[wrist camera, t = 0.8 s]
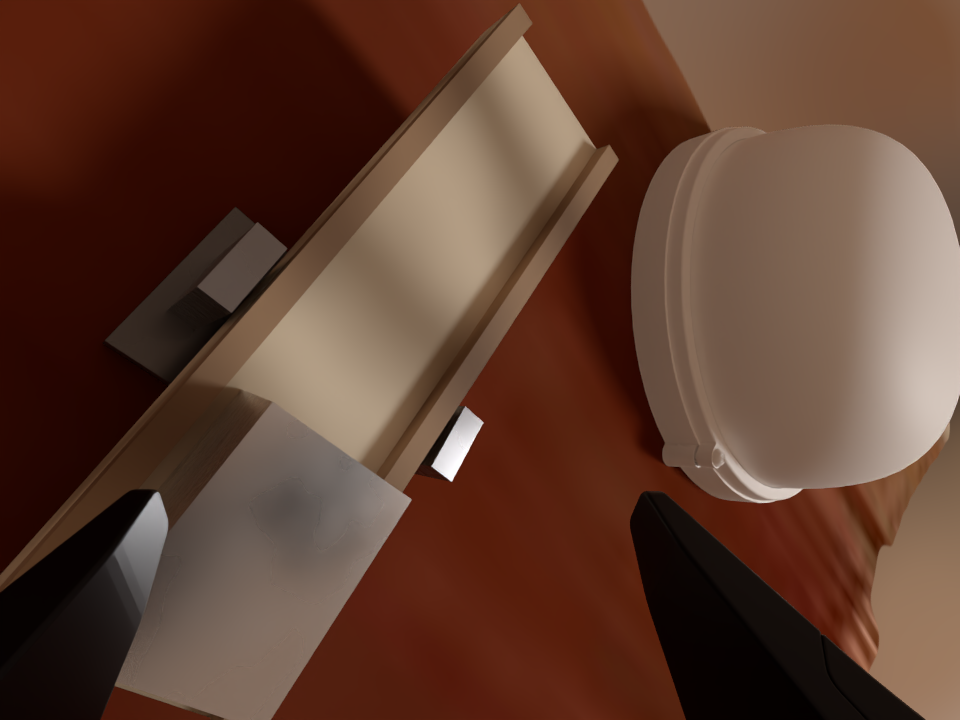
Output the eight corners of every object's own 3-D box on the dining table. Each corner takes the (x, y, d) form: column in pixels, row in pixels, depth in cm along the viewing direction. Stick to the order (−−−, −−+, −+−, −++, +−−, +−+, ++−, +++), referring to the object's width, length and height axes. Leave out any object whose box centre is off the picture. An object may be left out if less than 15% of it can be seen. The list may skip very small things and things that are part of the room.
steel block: (233, 654, 15) (263, 731, 12) (74, 589, 13) (63, 663, 10) (360, 471, 17) (411, 499, 14) (241, 388, 15) (272, 401, 12)
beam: (220, 680, 17) (239, 741, 14) (-20, 590, 13) (-50, 649, 11) (567, 177, 25) (618, 159, 22) (471, 42, 21) (519, 3, 19)
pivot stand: (362, 511, 21) (438, 539, 17) (102, 343, 16) (118, 324, 12) (433, 392, 24) (515, 392, 20) (228, 214, 19) (278, 161, 15)
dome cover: (736, 588, 42) (977, 655, 31) (556, 289, 30) (839, 228, 19) (826, 333, 58) (1005, 318, 47) (731, 74, 46) (939, -26, 35)
